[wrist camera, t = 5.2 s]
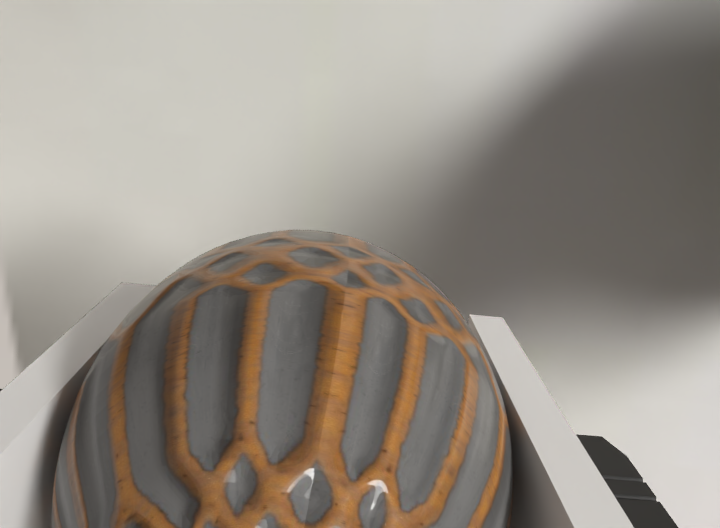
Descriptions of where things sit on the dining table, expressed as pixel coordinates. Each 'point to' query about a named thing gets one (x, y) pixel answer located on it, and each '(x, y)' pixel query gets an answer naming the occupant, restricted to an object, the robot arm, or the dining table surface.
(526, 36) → the dining table surface
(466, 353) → the vase
